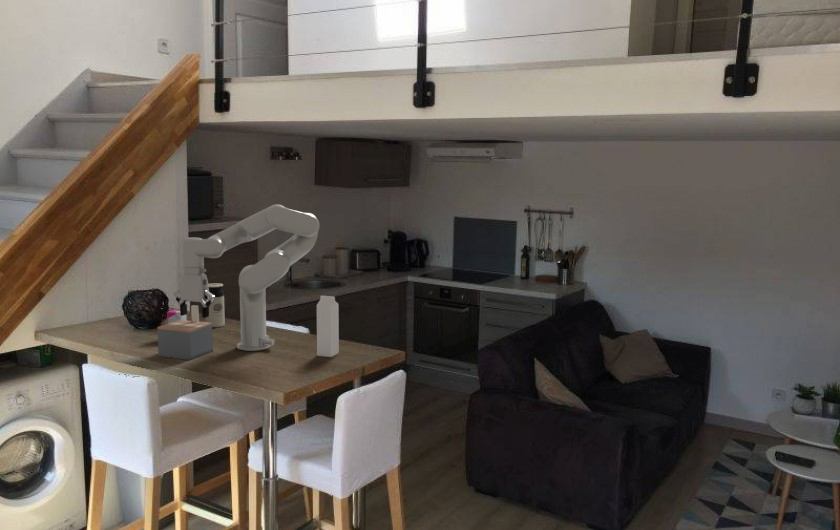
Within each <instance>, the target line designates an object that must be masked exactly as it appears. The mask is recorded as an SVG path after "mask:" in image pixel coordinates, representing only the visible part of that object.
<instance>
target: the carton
mask: <svg viewBox="0 0 840 530" xmlns="http://www.w3.org/2000/svg"><path fill="white" fill-rule="evenodd" d="M213 341H214V339H213V327H212V325H211V326H208V327H205V328H202V329H199V330H196V331H193V332H190V333H189V332H179V331H169V330H160V329H157V350H158V357H162V356H163V357H164V358H170V357H172V358H171V359H180V360H181V359H182V360H190V361H191V360H194V359H197V358H199V357H202V356H204V355H207V354H209V353H212V352H214V343H213ZM163 357H162V358H163Z"/></svg>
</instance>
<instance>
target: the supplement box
mask: <svg viewBox="0 0 840 530" xmlns="http://www.w3.org/2000/svg"><path fill="white" fill-rule="evenodd" d="M187 319H188V317H187V314H186V315H183V316H181V315H180V309H172V310H170V311H167V312H166V320H167V321H166V322H167V323H166V324H168V323H171V322H175V321H178V320H187Z"/></svg>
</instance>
